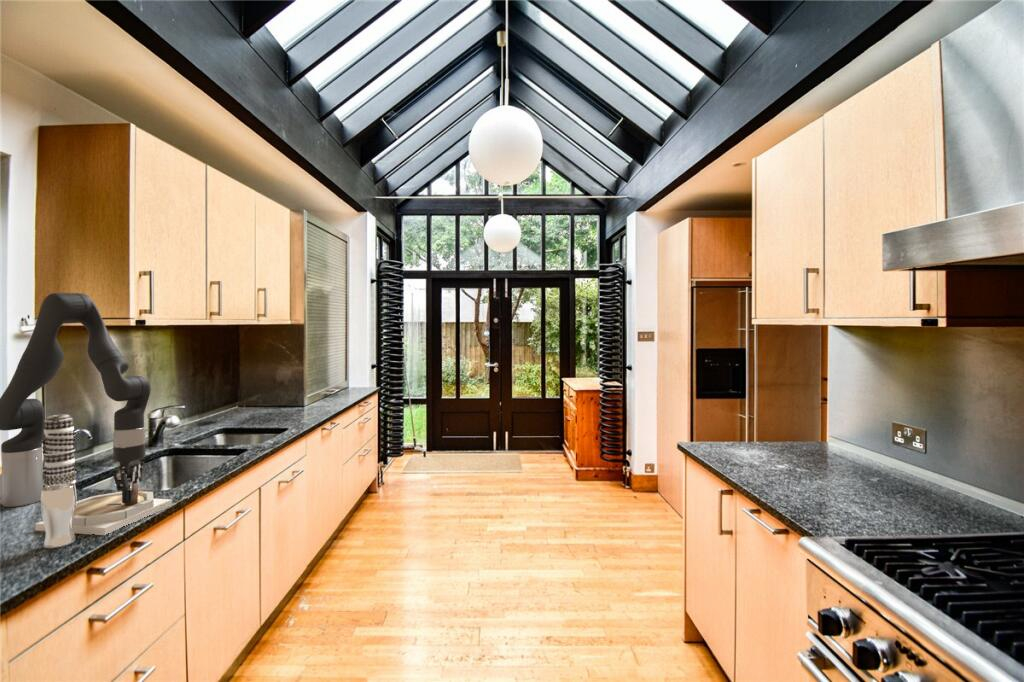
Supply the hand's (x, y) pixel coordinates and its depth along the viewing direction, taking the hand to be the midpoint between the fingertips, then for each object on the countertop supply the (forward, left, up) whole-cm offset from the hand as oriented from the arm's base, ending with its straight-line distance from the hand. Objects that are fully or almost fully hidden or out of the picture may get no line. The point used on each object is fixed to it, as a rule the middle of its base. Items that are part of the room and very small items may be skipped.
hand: (130, 500), depth 144 cm
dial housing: (-6, -1, -5) cm, 8 cm away
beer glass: (-2, -18, -5) cm, 19 cm away
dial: (-6, -1, -3) cm, 7 cm away
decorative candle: (-52, +23, -5) cm, 57 cm away
